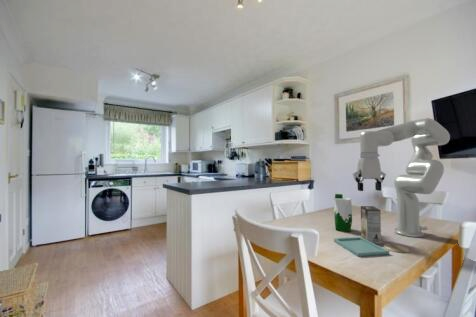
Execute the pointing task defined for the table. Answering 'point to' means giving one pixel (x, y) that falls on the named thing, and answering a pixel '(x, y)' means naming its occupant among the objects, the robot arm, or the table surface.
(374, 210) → the coffee box
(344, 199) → the milk carton
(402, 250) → the gold metallic coaster
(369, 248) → the tray
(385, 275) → the table surface
